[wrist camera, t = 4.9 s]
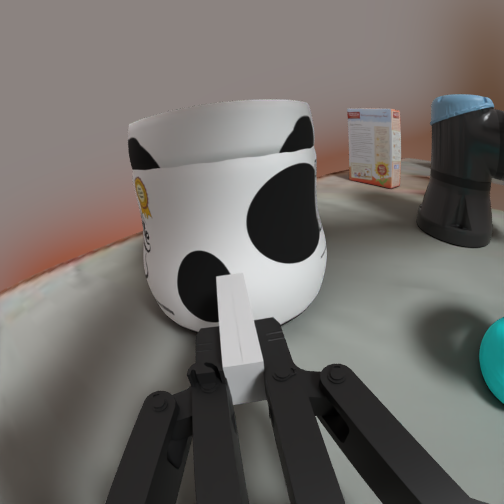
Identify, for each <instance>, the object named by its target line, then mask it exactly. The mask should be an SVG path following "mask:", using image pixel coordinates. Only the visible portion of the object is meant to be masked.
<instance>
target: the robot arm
mask: <svg viewBox="0 0 504 504" xmlns="http://www.w3.org/2000/svg"><path fill="white" fill-rule="evenodd" d="M431 107H432V110H431V111H432V113H431V122H430V124H431V125H432V156H431V175H430V182H429V185H428V187H427V190H426V192H425V195H424V198H423V202H422V204H421V205H420V206H419V208H418V214H417V224H418V226H419V227H420V228H421V229H422V230H424V231H425V232H426V233H428V234H430V235H432V236H434V237H436V238H438V239H440V240H443V241H446V242H449V243H452V244H456V245H460V246H466V247H482V246H486V245H488V244H489V243H490V240H491V235H492V230H493V225H492V212H491V202H490V187H491V180H492V178H495V179H499V180H502V181H504V111H500V110H496V109H494V104H493V102H492V100H491V99H489V98H486V97H481V96H476V95H463V94H462V95H460V94H457V95H445V96H440V97H437V98H436V99H435V100H433V102H432V106H431ZM216 282H217V299H218V314H219V326H216V327H208V328H201V329H200V330H199V332H198V334H197V336H196V363H195V364H193V365H192V366H191V367H190V368H189V369H188V373H187V376H188V379H189V381H190V383H191V386H190V387H189V388H188V389H186V390H184V391H182V392H179V393H176V394H174V395H171V394H170V393H168V392H166V391H157V392H154V393H152V394H150V395H149V396H147V398H146V399H145V401H144V403H143V406H142V408H141V410H140V413H139V415H138V418H137V420H136V423H135V425H134V428H133V430H132V433H131V435H130V438H129V441H128V443H127V446H126V448H125V451H124V454H123V456H122V459H121V461H120V464H119V467H118V470H117V472H116V475H115V478H114V480H113V483H112V486H111V489H110V492H109V495H108V497H107V500H106V503H105V504H176V500H177V496H178V492H179V488H180V484H181V480H182V476H183V472H184V468H185V464H186V460H187V456H188V452H189V448H190V444H191V441H192V437H193V452H194V473H195V488H196V501H197V504H249V501H248V496H247V490H246V484H245V478H244V472H243V465H242V459H241V453H240V446H239V439H238V432H237V425H236V418H235V413H234V410H233V405H236V404H243V403H250V402H256V401H262V400H267V401H268V407H269V417H270V418H271V422H272V427H273V431H274V435H275V440H276V444H277V448H278V453H279V457H280V461H281V465H282V469H283V474H284V478H285V482H286V486H287V490H288V494H289V498H290V502H291V504H345V502H344V499H343V496H342V493H341V490H340V487H339V484H338V481H337V478H336V475H335V472H334V469H333V467H332V464H331V461H330V458H329V455H328V452H327V449H326V446H325V443H324V440H323V438H322V435H321V432H320V429H319V426H318V423H317V420H316V417H315V416H317V417H318V419H319V420H320V422H321V423H322V424H323V426H324V427H325V428H326V430H327V431H328V433H329V434H330V435H331V437H332V438H333V439H334V441H335V442H336V444H337V445H338V446H339V448H340V449H341V450H342V452H343V453H344V454H345V456H346V457H347V458H348V460H349V461H350V462H351V464H352V465H353V466H354V468H355V469H356V470H357V471H358V473H359V474H360V475H361V477H362V478H363V479H364V481H365V482H366V483H367V484H368V486H369V487H370V488H371V489H372V491H373V492H374V493H375V494H376V496H377V497H378V498H379V499H380V501H381V502H382V503H383V504H488V503H485V502H482V501H478V500H475V499H472V498H470V497H469V496H468V495H467V494H466V493H465V492H464V491H463V490H462V489H461V488H460V487H459V486H458V484H457V483H456V482H455V481H454V480H453V479H452V478H451V477H450V476H449V475H448V474H447V473H446V472H445V471H444V470H443V468H442V467H441V466H440V465H439V464H438V463H437V462H436V461H435V460H434V459H433V458H432V457H431V456H430V455H429V454H428V452H427V451H426V450H425V449H424V448H423V447H422V446H421V445H420V444H419V443H418V442H417V441H416V440H415V438H414V437H413V436H412V435H411V434H410V433H409V432H408V431H407V430H406V429H405V428H404V427H403V426H402V424H401V423H400V422H399V421H398V420H397V419H396V418H395V417H394V416H393V415H392V414H391V413H390V411H389V410H388V409H387V408H386V407H385V406H384V405H383V404H382V403H381V402H380V401H379V400H378V398H377V397H376V396H375V395H374V394H373V393H372V392H371V391H370V390H369V389H368V388H367V386H366V385H365V384H364V383H363V382H362V381H361V380H360V379H359V378H358V377H357V376H356V374H355V373H354V372H353V371H352V370H351V369H350V368H348V367H347V366H345V365H342V364H331V365H328V366H327V367H325V368H324V369H323V370H322V372H315V371H305V370H302V369H300V368H299V367H297V366H296V365H295V364H294V362H293V360H292V358H291V355H290V352H289V349H288V346H287V343H286V340H285V338H284V334H283V332H282V329H281V326H280V323H279V322H278V321H277V320H276V319H275V318H274V317H270V318H265V319H259V320H254V319H253V315H252V310H251V306H250V302H249V297H248V293H247V289H246V284H245V280H244V275H243V273H237V274H230V275H223V276H216Z"/></svg>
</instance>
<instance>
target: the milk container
mask: <svg viewBox="0 0 504 504" xmlns="http://www.w3.org/2000/svg"><path fill="white" fill-rule="evenodd" d="M128 147H129V157H130V162H131V166H132V169H133V176H132V178H133V183H134V188H135V192H136V196H137V201H138V205H139V209H140V213H141V218H142V224H143V235H144V254H143V258H144V269H145V274H146V279H147V282H148V285H149V287H150V289H151V291H152V294H153V296H154V297H155V299H156V301H157V303H158V304H159V306H160V307H161V309H162V310H163V312H164V313H165V314H166V315H167V316H168V317H169V318H171V319H172V320H173V321H175V322H176V323H177V324H178V325H180V326H182V327H184V328H186V329H189V330H192V331H194V332H197V333H198V332H199V330H200V329H201V328H208V327H216V326H219V314H218V299H217V282H216V276H223V275H230V274H237V273H243V275H244V280H245V284H246V289H247V293H248V297H249V302H250V306H251V310H252V315H253V319H254V320H259V319H265V318H270V317H274V318H275V319H276V320H277V321H278V322H279V323H280V326H281V325H283V324H285V323H287V322H289V321H291V320H292V319H294V318H296V317H297V316H299V315H300V314H301V313H302V312H303V311H305V309H306V308H307V307H308V306H309V305H310V304H311V302H312V301H313V300H314V298H315V297H316V296H317V294H318V292H319V290H320V287H321V284H322V281H323V277H324V273H325V268H326V260H327V247H326V239H325V235H324V231H323V227H322V223H321V220H320V216H319V212H318V207H317V195H316V153H315V149H314V126H313V120H312V115H311V110H310V107H309V104H308V103H306V102H302V101H294V100H273V99H271V100H270V99H266V100H265V99H264V100H263V99H262V100H241V101H229V102H219V103H210V104H204V105H198V106H192V107H187V108H182V109H176V110H172V111H167V112H163V113H160V114H156V115H153V116H150V117H146V118H143V119H140V120H138V121H135V122H133V123H131V124H129V128H128Z"/></svg>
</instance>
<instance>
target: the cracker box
mask: <svg viewBox="0 0 504 504" xmlns="http://www.w3.org/2000/svg"><path fill="white" fill-rule="evenodd" d="M347 111H348V130H349V131H348V132H349V179H350V180H353V181H358V182H363V183H368V184H373V185H377V186H381V187H385V188H394V187H398V186H400V168H401V129H400V111H398V110H394V109H377V108H352V109H351V108H350V109H347Z"/></svg>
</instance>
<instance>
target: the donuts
mask: <svg viewBox="0 0 504 504" xmlns="http://www.w3.org/2000/svg"><path fill="white" fill-rule="evenodd" d="M479 360H480V368H481V372H482V375H483V377H484V380H485V382H486V384H487V386H488V387H489V389H490V390H491V392H492V393H493V394H494V395H495V396H496V397H497V398H498V399H499V400H500V401H501V402H502V403H504V317H503V318H501V319H499V320H497V321H496V322H494V323H493V324H492V325H491V326H490V327H489V329H488V330H487V331H486V333H485V335H484V337H483V339H482V342H481V346H480V353H479Z"/></svg>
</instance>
